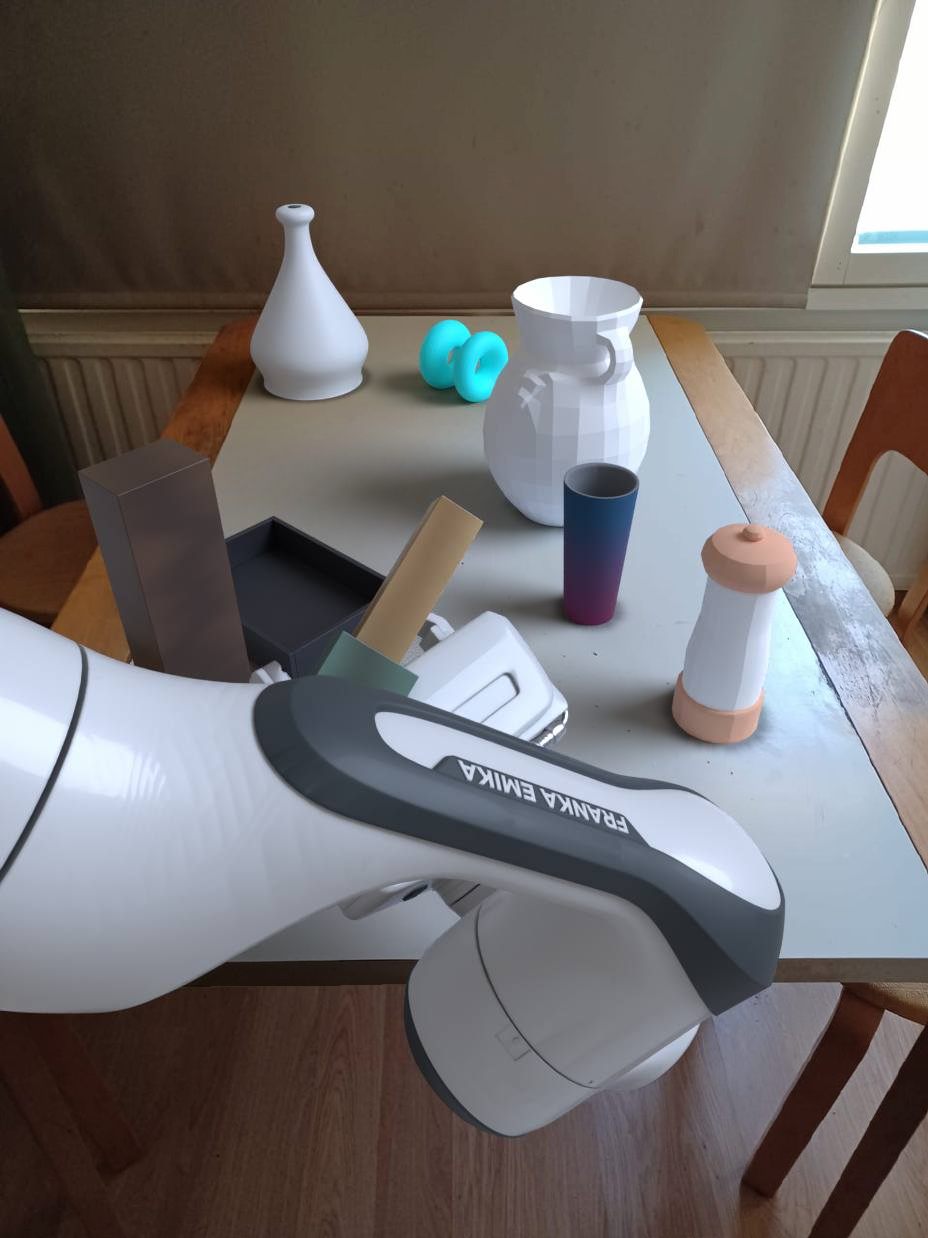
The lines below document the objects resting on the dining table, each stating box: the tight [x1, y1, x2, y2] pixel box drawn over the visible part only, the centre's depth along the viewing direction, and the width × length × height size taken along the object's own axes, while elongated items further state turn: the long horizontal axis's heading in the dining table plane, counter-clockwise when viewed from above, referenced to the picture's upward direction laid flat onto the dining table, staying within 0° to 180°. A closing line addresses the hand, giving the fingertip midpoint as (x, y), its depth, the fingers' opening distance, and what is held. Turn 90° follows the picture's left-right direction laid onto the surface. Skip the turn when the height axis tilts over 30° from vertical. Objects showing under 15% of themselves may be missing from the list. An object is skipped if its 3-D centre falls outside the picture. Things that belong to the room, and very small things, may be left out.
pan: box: [225, 515, 387, 679], centre depth 90 cm, size 14×20×4 cm
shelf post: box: [77, 436, 252, 683], centre depth 69 cm, size 7×5×26 cm
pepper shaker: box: [671, 522, 798, 745], centre depth 73 cm, size 7×7×19 cm
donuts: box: [418, 319, 509, 403], centre depth 131 cm, size 10×10×10 cm
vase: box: [249, 203, 369, 401], centre depth 131 cm, size 17×17×25 cm
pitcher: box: [482, 275, 651, 528], centre depth 100 cm, size 19×18×25 cm
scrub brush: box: [307, 494, 484, 697], centre depth 53 cm, size 5×15×5 cm
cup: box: [562, 462, 640, 627], centre depth 86 cm, size 7×7×15 cm
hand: (325, 632), depth 54 cm, fingers closed on scrub brush, 8 cm apart
